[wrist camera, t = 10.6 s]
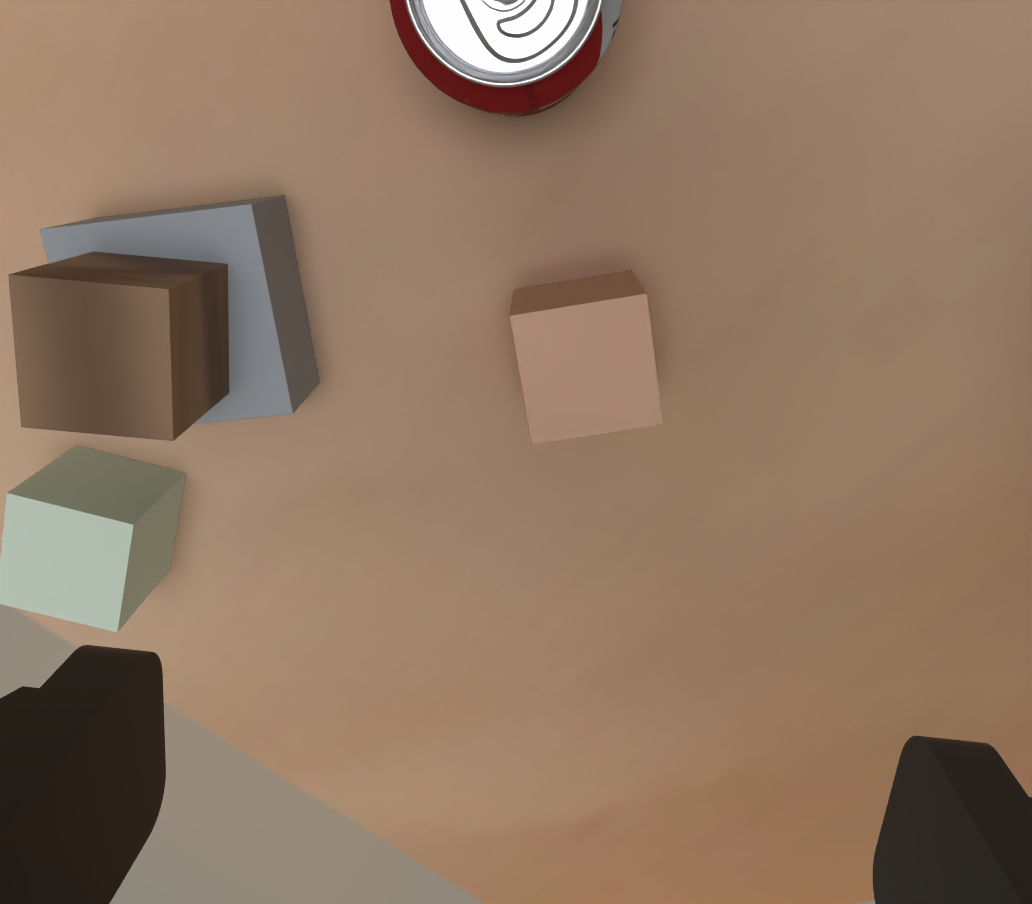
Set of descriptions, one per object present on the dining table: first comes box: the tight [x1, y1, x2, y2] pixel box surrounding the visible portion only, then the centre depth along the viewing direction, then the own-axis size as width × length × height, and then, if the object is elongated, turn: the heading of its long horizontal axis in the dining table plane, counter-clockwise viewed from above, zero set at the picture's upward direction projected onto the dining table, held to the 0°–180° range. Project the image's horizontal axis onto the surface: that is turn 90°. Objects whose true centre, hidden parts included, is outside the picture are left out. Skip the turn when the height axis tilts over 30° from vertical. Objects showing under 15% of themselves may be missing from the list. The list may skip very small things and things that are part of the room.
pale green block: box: [0, 445, 186, 632], centre depth 41 cm, size 5×5×6 cm
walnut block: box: [9, 251, 229, 441], centre depth 33 cm, size 5×5×6 cm
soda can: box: [390, 0, 623, 117], centre depth 31 cm, size 7×7×12 cm
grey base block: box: [40, 195, 320, 435], centre depth 38 cm, size 8×8×5 cm
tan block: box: [510, 270, 663, 445], centre depth 38 cm, size 5×5×6 cm
